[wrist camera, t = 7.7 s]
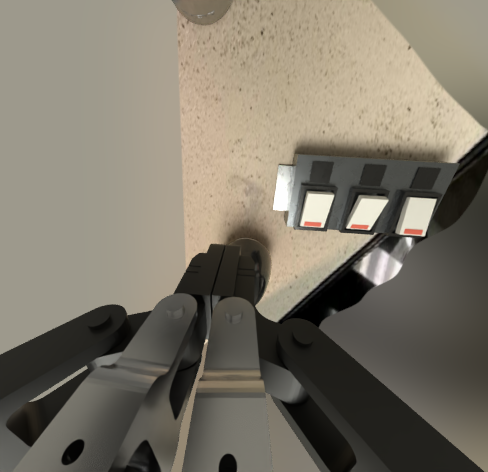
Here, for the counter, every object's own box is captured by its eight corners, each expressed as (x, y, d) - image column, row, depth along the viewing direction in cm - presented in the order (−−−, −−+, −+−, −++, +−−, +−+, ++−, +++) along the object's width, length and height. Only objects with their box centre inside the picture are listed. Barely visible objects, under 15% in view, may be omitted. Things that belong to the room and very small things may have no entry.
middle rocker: (359, 194, 30) (362, 198, 29) (385, 196, 30) (389, 200, 29) (344, 224, 34) (346, 228, 33) (367, 226, 34) (370, 230, 33)
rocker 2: (405, 196, 31) (410, 197, 30) (431, 198, 31) (437, 199, 30) (395, 232, 32) (399, 234, 31) (419, 234, 32) (425, 236, 31)
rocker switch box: (279, 152, 33) (283, 153, 29) (454, 162, 32) (484, 165, 28) (272, 218, 38) (273, 227, 34) (421, 228, 37) (442, 239, 33)
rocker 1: (306, 190, 30) (308, 193, 29) (332, 192, 30) (334, 195, 29) (299, 223, 34) (300, 226, 33) (321, 224, 34) (323, 228, 33)
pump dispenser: (268, 227, 39) (274, 272, 25) (272, 269, 43) (278, 327, 30) (219, 232, 40) (199, 278, 26) (227, 273, 44) (214, 330, 31)
